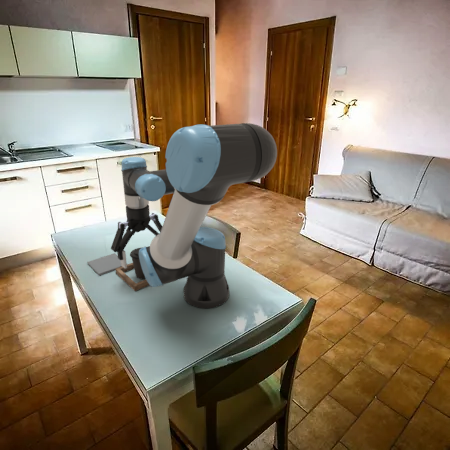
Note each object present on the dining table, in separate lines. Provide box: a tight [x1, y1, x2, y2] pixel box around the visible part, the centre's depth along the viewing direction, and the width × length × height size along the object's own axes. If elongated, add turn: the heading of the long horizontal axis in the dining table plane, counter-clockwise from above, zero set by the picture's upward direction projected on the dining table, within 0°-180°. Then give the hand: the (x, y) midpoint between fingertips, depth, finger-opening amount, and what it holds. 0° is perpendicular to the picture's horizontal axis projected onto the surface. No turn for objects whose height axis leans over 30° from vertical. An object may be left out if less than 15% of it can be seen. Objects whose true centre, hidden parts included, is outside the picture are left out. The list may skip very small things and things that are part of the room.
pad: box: [86, 252, 122, 277], centre depth 122 cm, size 11×11×1 cm
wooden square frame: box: [115, 262, 150, 292], centre depth 116 cm, size 14×14×3 cm
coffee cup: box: [129, 246, 146, 280], centre depth 114 cm, size 8×8×10 cm
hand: (141, 260), depth 114 cm, fingers open, 13 cm apart
